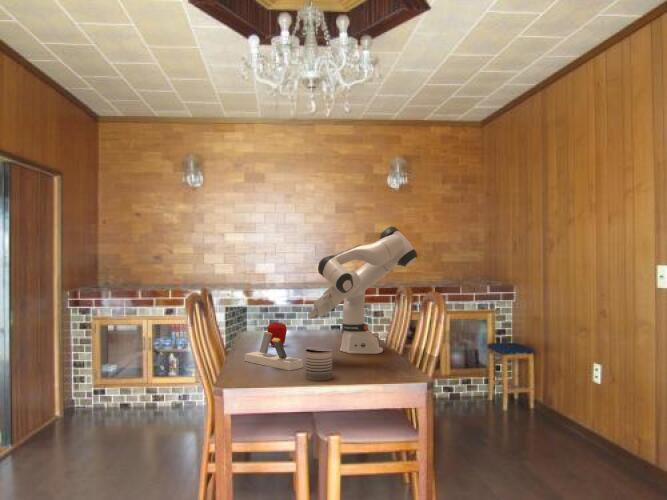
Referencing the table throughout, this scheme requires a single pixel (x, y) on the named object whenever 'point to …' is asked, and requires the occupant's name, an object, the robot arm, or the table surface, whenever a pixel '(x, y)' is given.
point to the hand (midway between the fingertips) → (309, 317)
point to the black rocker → (279, 348)
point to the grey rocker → (265, 342)
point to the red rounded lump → (277, 332)
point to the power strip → (274, 361)
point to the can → (318, 363)
